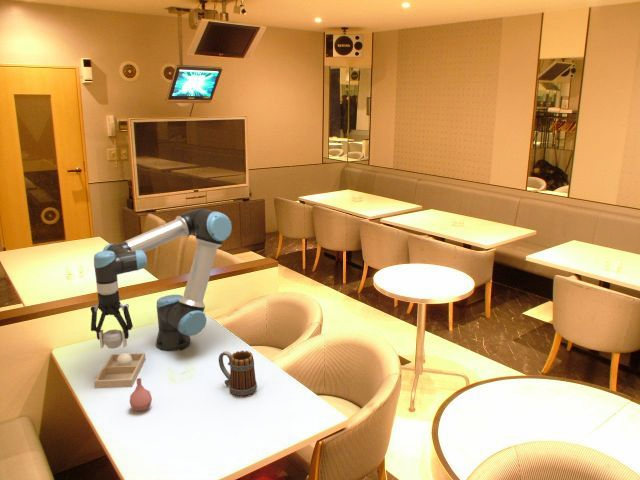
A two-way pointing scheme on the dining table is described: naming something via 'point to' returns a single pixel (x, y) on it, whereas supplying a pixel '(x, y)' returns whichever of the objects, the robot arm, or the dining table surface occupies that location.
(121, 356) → the egg
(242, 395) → the mug
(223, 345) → the dining table surface
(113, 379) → the wooden compartment tray
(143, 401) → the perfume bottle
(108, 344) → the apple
